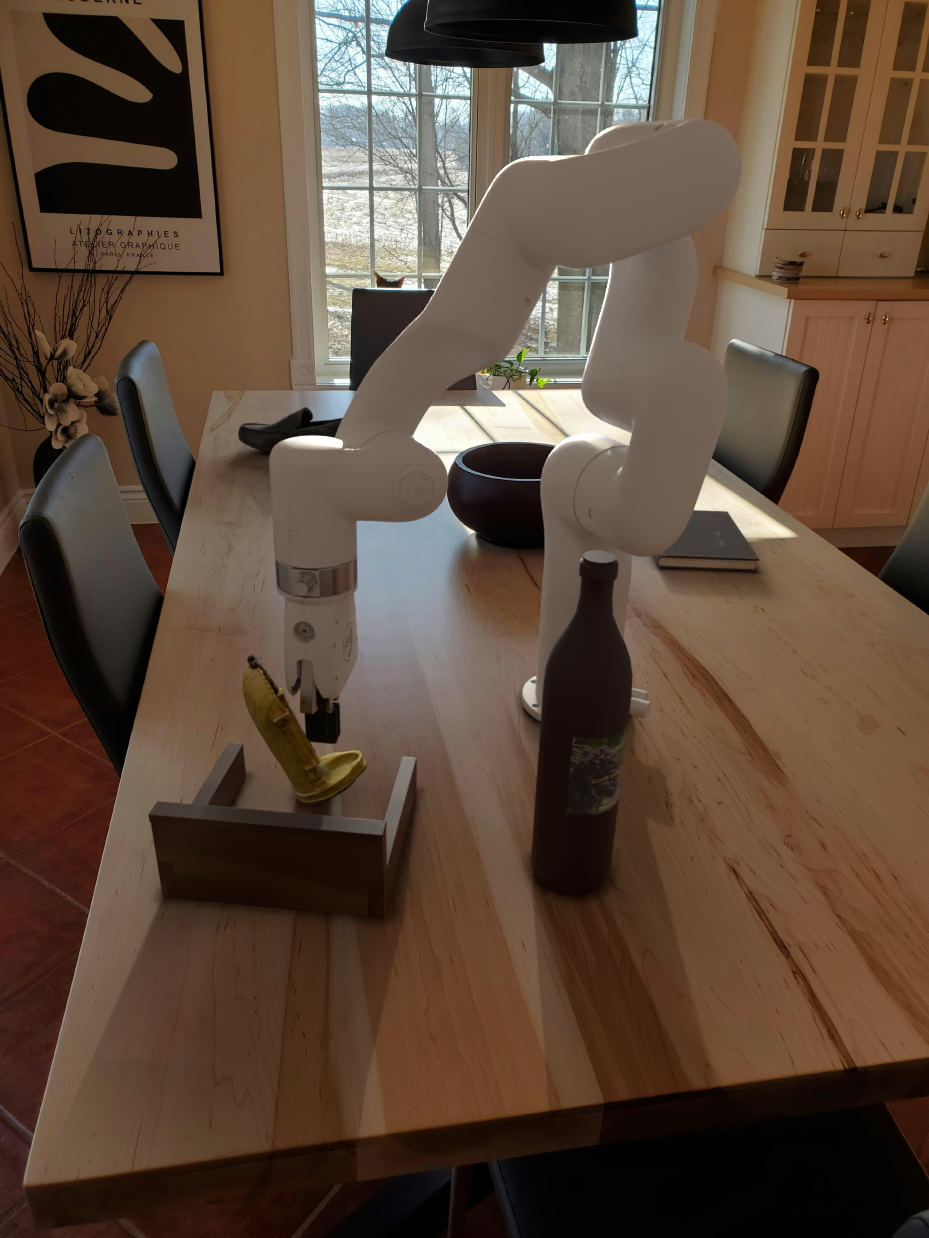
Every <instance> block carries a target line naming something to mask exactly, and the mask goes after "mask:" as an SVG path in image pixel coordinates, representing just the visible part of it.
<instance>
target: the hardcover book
mask: <svg viewBox="0 0 929 1238" xmlns="http://www.w3.org/2000/svg"><path fill="white" fill-rule="evenodd" d="M653 559H654V562H655V563H656V566H657V567H658V568H659V569H660V570H662V569H664V570H685V571H686V570H688V571H691V570H692V571H713V572H714V571H715V572H737V573H739V572H741V573H758V569H757V566H756V565H757V562H760V561H761V560H760V558H759V556H758V554H756V552H755V550H754V548H753V547H752V546H751V545H750V543H749V541H748V540H747V539H746V537H745V535H744V533H743V532H742V531H741V529H740V528H739V527H738V525H737V524H736V522H735V521H734V519H733V518H732V516H731V515H730V513H729V511H727V510H722V511H721V510H701V509H700V510H699V509H694V510H693V513H692V515H691V517H690V520H689V522H688V524H687V526H686V528H685V529H684V531H683V533H682V534H681V535H680V537H679V538H678V539H677V540H676V542H675V543H674V544H673V545H672V546H670V547H669V548H668V549H667V550H665V551H663V552H662V553H660V554H657V555H654V556H653Z"/></svg>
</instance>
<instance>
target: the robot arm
mask: <svg viewBox="0 0 929 1238" xmlns="http://www.w3.org/2000/svg"><path fill="white" fill-rule="evenodd" d="M742 165H743V164H742V156H741V152H740V149H739V146H738V143H737V142H736V140H735V137H733V134H731V132H729V131H728V130H727V128H725V127H724V126H722V125H721V124H720V123H717V122H715V121H712V120H709V119H706V118H705V119H704V118H680V119H669V120H646V121H645V120H644V121H633V122H624V123H620V124H616V125H614V126H611V127H608V128H606V129H604V130H602V131H601V132H600V133H598V134H597V135H595V137H594V138H592V140H591V141H590V143H589V144H588V146H587V148H586V149H585V151H584V154H574V155H573V154H571V155H538V156H536V155H535V156H529V157H527V156H526V157H523V158H519V159H516V160H514V161H512V162H510V163H509V164H507V165H506V166H505V167H503V168H502V169H501V170H500V171H499V173H498V174H497V175H496V176H495V178H494V179H493V181H492V183H491V184H490V186H489V187H488V189H487V190H486V192H485V194H484V196H483V198H482V200H481V202H480V203H479V206H478V208H477V209H476V211H475V214H474V215H473V217H472V219H471V221H470V223H469V224H468V227H467V228H466V231H465V232H464V234H463V236H462V239H461V241H460V242H459V244H458V246H457V248H456V250H455V252H454V254H453V256H452V258H451V259H450V262H449V264H448V266H447V267H446V269H445V272H444V273H443V275H442V277H441V278H440V281H439V282H438V284H437V286H436V288H435V290H434V292H433V294H432V296H431V297H430V299H429V301H428V303H427V304H426V306H425V307H424V309H423V310H422V311H421V313H420V314H419V315H418V316H417V317H416V318H414V320H413V321H411V323H410V324H408V325H407V326H406V327H405V328H404V330H403V331H401V333H400V334H399V335H398V336H397V337H396V338H395V339H394V341H392V342H391V344H390V345H389V346H388V347H387V348H386V349H385V350H384V351H383V352H382V353H381V354H380V356H379V357H378V358H377V359H376V360H375V361H374V363H373V364H372V366H371V367H370V368H369V369H368V371H367V373H366V374H365V376H364V377H363V378H362V381H361V383H360V384H359V386H358V388H357V389H356V391H355V393H354V395H353V397H352V399H351V401H350V403H349V405H348V407H347V409H346V411H345V413H344V415H343V417H342V418H343V419H342V421H341V423H340V425H339V428H338V430H337V433H336V436H335V438H331V437H325V436H299V437H293V438H289V439H286V440H283V441H281V442H279V443H278V444H276V445H275V446H274V447H273V449H272V451H271V453H269V458H268V460H269V461H268V462H269V464H268V465H269V466H268V467H269V469H268V470H269V486H270V500H271V515H272V516H271V517H272V533H273V535H272V536H273V549H274V551H273V552H274V566H275V584H276V591H277V593H278V594H279V595H280V596H281V597H283V598H284V616H283V620H284V622H283V625H284V626H283V637H284V638H283V651H284V675H285V683H286V684H285V685H286V690H287V692H288V693H289V695H290V696H291V697H295V696H296V695H297V694H298V692H299V713H300V714H304V727H305V728H304V733H305V735H306V737H307V739H308V740H309V741H310V742H311V743H318V744H327V745H328V744H329V745H336V744H337V742H338V740H339V738H340V736H341V733H342V732H341V703H340V702H339V700H340V695H341V693H342V692H343V690H344V688H345V686H346V684H347V682H348V680H349V678H350V676H351V674H352V672H353V670H354V668H355V666H356V663H357V660H358V656H359V641H358V640H359V639H358V625H357V611H356V609H357V608H356V597H355V592H356V591H357V590H358V588H359V584H358V582H359V579H358V578H359V577H358V537H357V536H358V526H357V523H358V522H378V523H380V522H381V523H410V522H414V521H418V520H421V519H424V518H426V517H429V516H430V515H431V514H433V513H434V512H435V511H436V510H437V509H438V508H439V507H441V505H442V503H443V502H444V500H445V498H446V496H447V494H448V489H449V473H448V471H447V468H446V466H445V463H444V462H443V460H442V458H441V457H440V456H439V455H438V453H437V452H436V451H435V450H433V449H432V448H431V447H430V446H428V445H427V444H426V443H424V442H422V441H420V440H419V439H417V438H416V437H415V436H414V434H415V432H416V430H417V428H418V427H419V425H420V423H421V421H422V420H423V418H424V417H425V415H426V413H427V412H428V411H429V409H430V408H431V406H432V405H433V404H434V402H435V401H436V400H437V399H438V398H440V396H441V395H442V394H443V393H444V392H445V391H446V390H448V389H449V388H450V387H452V386H453V385H454V384H456V383H458V382H459V381H461V380H463V379H465V378H468V377H470V376H472V375H475V374H477V373H480V372H483V371H485V370H487V369H489V368H491V367H493V366H495V365H497V364H499V363H500V362H502V361H503V360H505V359H506V358H507V357H508V356H509V355H510V354H511V352H513V351H512V350H513V349H514V347H515V345H516V343H517V341H518V339H519V337H520V336H521V334H522V332H523V330H524V328H525V326H526V324H527V323H528V320H529V319H530V317H531V315H532V313H533V311H534V310H535V308H536V306H537V304H538V302H539V301H540V298H541V296H542V295H543V293H544V291H545V289H546V288H547V286H548V284H549V283H550V281H551V279H552V277H553V276H554V273H555V272H556V270H557V268H564V269H571V270H580V271H581V270H587V269H588V270H590V269H595V268H596V269H597V268H599V267H603V266H608V265H609V274H608V275H609V276H608V282H607V286H606V291H605V295H604V300H603V304H602V305H601V306H602V307H601V310H600V314H599V317H598V321H597V324H596V327H595V331H594V334H593V337H592V342H591V345H590V349H589V352H588V356H587V359H586V362H585V366H584V369H583V374H582V380H581V386H580V393H581V399H582V402H583V404H584V406H585V408H586V409H587V410H588V411H589V412H590V414H591V415H593V416H594V417H595V418H597V419H599V420H600V421H602V422H604V423H606V424H608V425H610V426H613V427H615V428H618V429H620V430H622V431H625V432H628V433H630V435H631V436H630V441H629V443H628V444H626V443H623V442H620V441H618V440H616V439H613V438H611V437H608V436H605V435H601V434H595V433H580V434H574V435H571V436H569V437H567V438H565V439H563V440H562V441H561V442H559V443H558V444H557V445H555V446H554V448H553V449H552V450H551V451H550V453H549V454H548V456H547V458H546V459H545V462H544V465H543V467H542V472H541V476H540V486H539V487H540V489H539V490H540V503H541V512H542V521H543V531H544V533H543V534H544V553H543V554H544V555H543V556H544V559H543V572H542V573H543V574H542V586H541V599H540V615H539V628H538V629H539V631H538V642H537V643H538V645H537V660H536V673H535V674H536V675H534V676H533V677H531V678H530V679H529V680H527V681H526V682H525V683H524V685H523V686H522V690H521V703H522V706H523V708H524V709H525V711H526V712H527V713H528V715H530V716H531V717H533V718H534V719H535V720H537V721H539V722H541V709H542V695H543V683H544V675H545V668H546V664H547V661H548V658H549V655H550V652H551V650H552V648H553V646H554V644H555V643H556V641H557V639H558V637H559V636H560V635H561V633H562V632H563V631H564V629H565V628H566V626H567V625H568V624H569V622H570V620H571V619H572V617H573V615H574V613H575V612H576V609H577V604H578V600H579V596H580V586H581V577H580V575H579V565H580V559H581V558H583V554H584V553H586V552H588V551H594V550H600V551H607V552H610V553H612V554H614V555H615V556H616V557H617V559H616V560H617V561H618V563H619V567H618V576H617V578H616V579H615V580H614V588H613V597H612V600H613V616H614V618H615V621H616V624H617V627H618V629H619V631H620V634H621V636H622V638H623V639H625V638H624V637H625V628H626V619H627V613H628V611H627V610H628V603H629V593H630V588H631V580H632V567H633V564H632V562H633V560H632V559H633V558H632V556H634V557H640V558H649V557H654V555H657V554H660V553H662V552H663V551H665V550H667V549H668V548H669V547H670V546H672V545H673V544H674V543H675V542H676V540H677V539H678V538H679V537H680V535H681V534H682V533H683V531H684V529H685V528H686V526H687V524H688V522H689V520H690V517H691V515H692V513H693V510H695V508H696V505H697V502H698V499H699V496H700V493H701V490H702V487H703V484H704V481H705V479H706V476H707V473H708V470H709V467H710V465H711V461H712V458H713V456H714V452H715V449H716V447H717V444H718V441H719V438H720V435H721V432H722V429H723V426H724V422H725V420H726V416H727V415H726V414H727V410H728V403H729V385H728V384H729V383H728V379H727V374H726V371H725V369H724V367H723V364H722V363H721V361H720V360H719V358H718V357H717V355H715V354H714V353H713V352H711V351H710V350H709V349H708V348H705V347H703V345H702V346H701V345H700V344H697V343H694V342H690V341H686V340H685V336H686V331H687V327H688V324H689V320H690V316H691V313H692V309H693V304H694V301H695V297H696V293H697V292H696V291H697V287H698V279H699V278H698V277H699V267H698V265H699V264H698V256H697V250H696V246H695V242H694V238H693V235H692V234H695V233H697V232H700V231H702V230H704V229H705V228H707V227H709V226H710V225H712V224H713V223H715V222H716V221H717V220H718V219H719V218H720V217H721V216H722V215H723V214H724V213H725V212H726V211H727V210H728V208H729V207H730V205H731V204H732V203H733V200H734V199H735V197H736V194H737V192H738V190H739V187H740V183H741V178H742V169H743V166H742ZM648 698H649V692H648V691H645V690H642V689H640V688H634V687H632V696H631V704H630V712H629V715H632V716H636V717H638V718H642V719H644V720H646V719H647V718H648V717H649V715H650V713H651V709H652V702H650V701H649V699H648Z"/></svg>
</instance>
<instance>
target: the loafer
mask: <svg viewBox="0 0 929 1238" xmlns="http://www.w3.org/2000/svg"><path fill="white" fill-rule="evenodd" d="M313 419H314V415H313V412H312V411H311V410H310V408H309V407H307V406H305V407H302V408H300V409H297V410H296V411H294V412H290V413H288V415H286V416H283V418H281V419H280V420H278V421H276V422H273V423H257V422H244V423H242V424H240V426H239V428H238V432H237V435H238V440H239V442H241V443H242V444H244V445H245V446H247V447H250V448H252V449H254V450H258V451H260V452H264V453H268V454H271V451H272V449H273V447H274V446H275V445H276V444H278V443H279V442H281V441H283V440H286V439H289V438H293V437H299V436H325V437H331V438H335V436H336V433H337V430H338V428H339V425H340V423H341V421H342V419H343V417H339V418H333V419H323V420H322V419H321V420H313Z"/></svg>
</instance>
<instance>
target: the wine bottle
mask: <svg viewBox="0 0 929 1238" xmlns="http://www.w3.org/2000/svg"><path fill="white" fill-rule="evenodd" d="M616 559H617V557H616V556H615V555H614V554H612V553H610V552H607V551H600V550H594V551H588V552H586V553H584V554H583V558H581V559H580V565H579V575H580V577H581V586H580V596H579V600H578V604H577V609H576V612H575V613H574V615H573V617H572V619H571V620H570V622H569V624H568V625H567V626H566V628H565V629H564V631H563V632H562V633H561V635H560V636H559V637H558V639H557V641H556V643H555V644H554V646H553V648H552V650H551V652H550V655H549V658H548V661H547V664H546V668H545V675H544V683H543V695H542V709H541V721H540V723H539V725H540V726H539V737H538V741H539V742H538V753H537V767H536V778H535V779H536V780H535V795H534V808H533V809H534V810H533V812H534V813H533V821H532V822H533V823H532V836H531V837H532V838H531V851H530V865H531V869H532V873H533V875H534V877H535V878H536V879H537V880H538V882H539V883H541V884H542V885H543V886H544V887H546V888H547V889H549V890H551V891H554V892H556V893H560V894H564V895H574V896H576V895H577V896H578V895H587V894H590V893H592V892H595V891H597V890H599V889H600V888H601V887H602V886H604V885H605V883H606V882H607V880H608V878H609V876H610V873H611V867H612V860H613V853H614V843H615V834H616V827H617V819H618V810H619V802H620V793H621V786H622V777H623V770H624V761H625V752H626V746H627V745H626V743H627V736H628V728H629V720H630V713H629V712H630V704H631V696H632V688H633V677H634V675H633V668H632V659H631V656H630V652H629V650H628V646H627V644H626V641H625V640H624V638H622V636H621V634H620V631H619V629H618V627H617V624H616V621H615V618H614V616H613V600H612V597H613V588H614V580H615V579H616V578H617V576H618V567H619V563H618V561H617V560H616Z"/></svg>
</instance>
